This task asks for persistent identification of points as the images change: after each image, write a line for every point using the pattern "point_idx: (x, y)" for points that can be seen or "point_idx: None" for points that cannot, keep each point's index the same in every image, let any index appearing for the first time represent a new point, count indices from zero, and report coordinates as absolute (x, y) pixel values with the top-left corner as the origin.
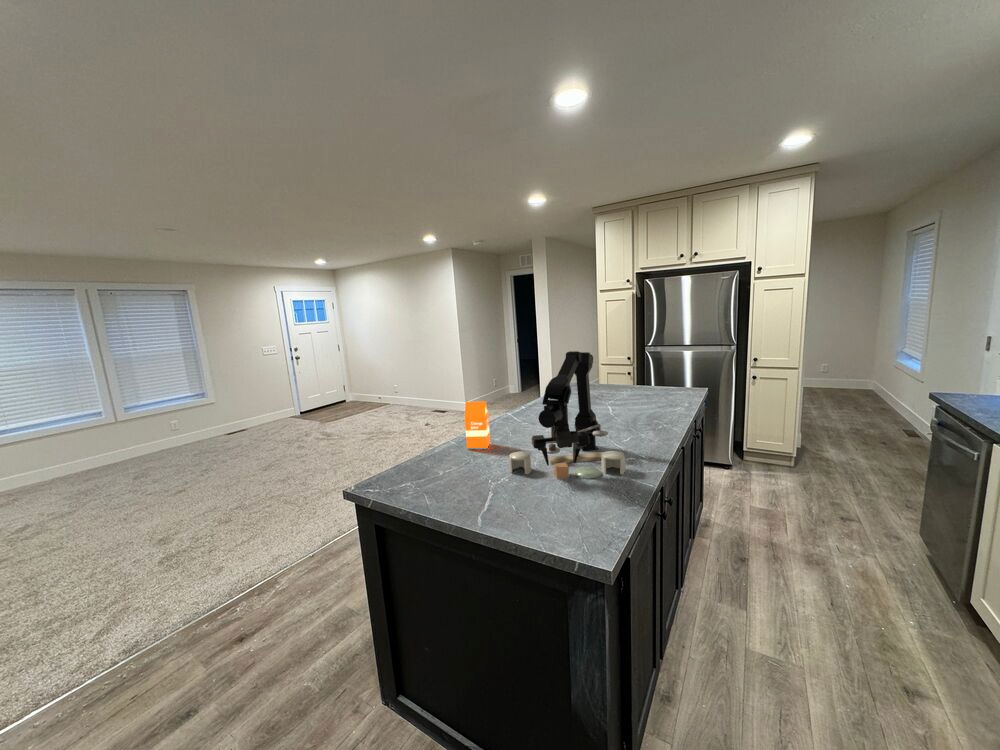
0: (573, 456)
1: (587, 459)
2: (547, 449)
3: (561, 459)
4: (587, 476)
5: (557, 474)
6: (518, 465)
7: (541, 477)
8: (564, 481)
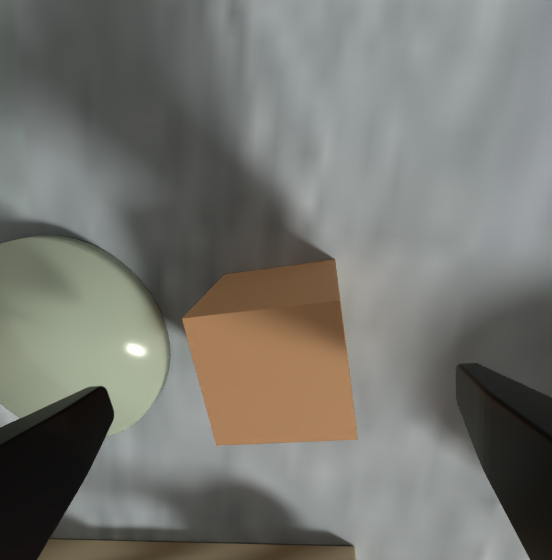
0: (62, 480)
1: (75, 550)
2: None
3: None
4: (49, 242)
5: (332, 273)
6: None
7: (489, 313)
8: (270, 197)
